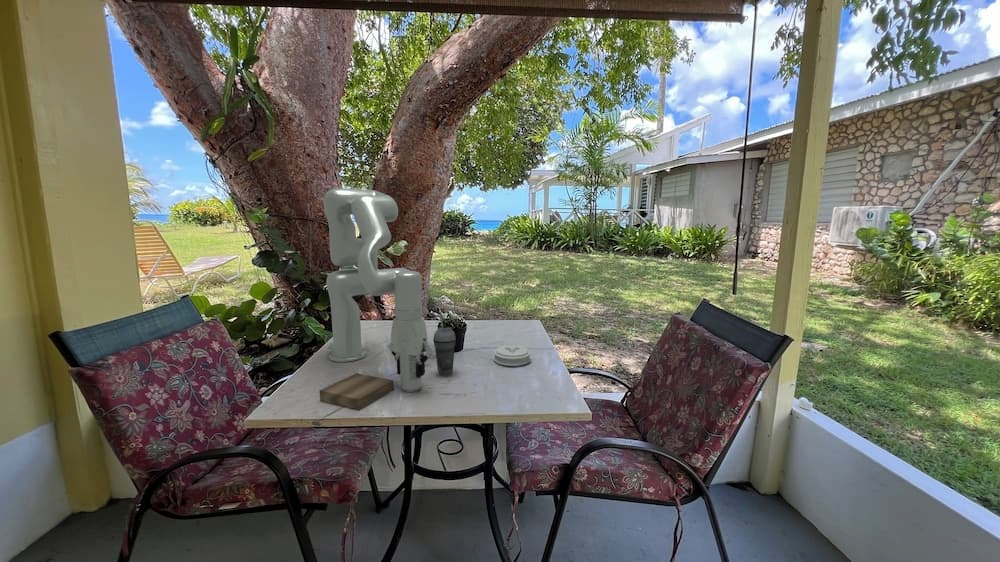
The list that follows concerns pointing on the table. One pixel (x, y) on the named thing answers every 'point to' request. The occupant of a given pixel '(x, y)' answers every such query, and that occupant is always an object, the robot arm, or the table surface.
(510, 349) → the lid
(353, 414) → the table surface
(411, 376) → the energy drink can
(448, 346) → the beverage cup
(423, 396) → the table surface
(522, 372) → the table surface
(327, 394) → the walnut base
